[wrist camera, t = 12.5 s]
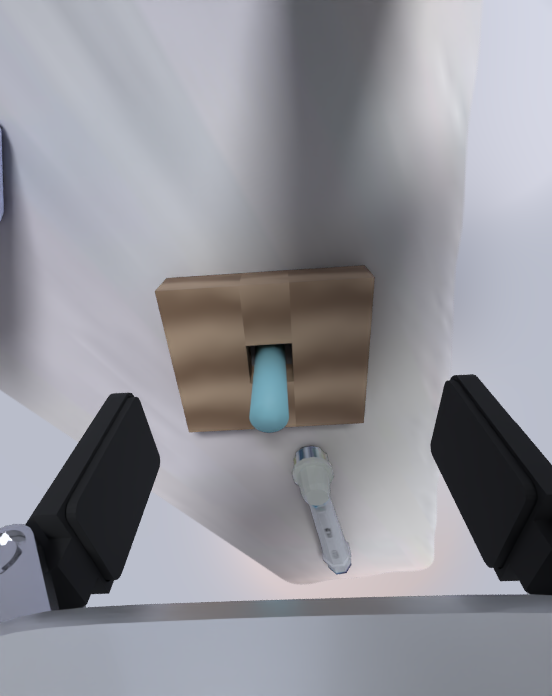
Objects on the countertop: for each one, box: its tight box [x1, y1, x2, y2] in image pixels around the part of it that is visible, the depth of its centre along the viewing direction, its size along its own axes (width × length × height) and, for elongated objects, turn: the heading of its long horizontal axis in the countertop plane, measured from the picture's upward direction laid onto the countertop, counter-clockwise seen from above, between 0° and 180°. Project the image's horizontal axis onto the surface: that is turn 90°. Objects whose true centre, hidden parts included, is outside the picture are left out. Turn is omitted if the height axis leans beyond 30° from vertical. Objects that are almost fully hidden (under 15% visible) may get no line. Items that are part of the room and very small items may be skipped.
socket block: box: [155, 265, 375, 432], centre depth 37 cm, size 17×20×4 cm
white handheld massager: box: [292, 446, 351, 574], centre depth 50 cm, size 5×7×25 cm
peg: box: [249, 344, 289, 433], centre depth 33 cm, size 3×3×12 cm
